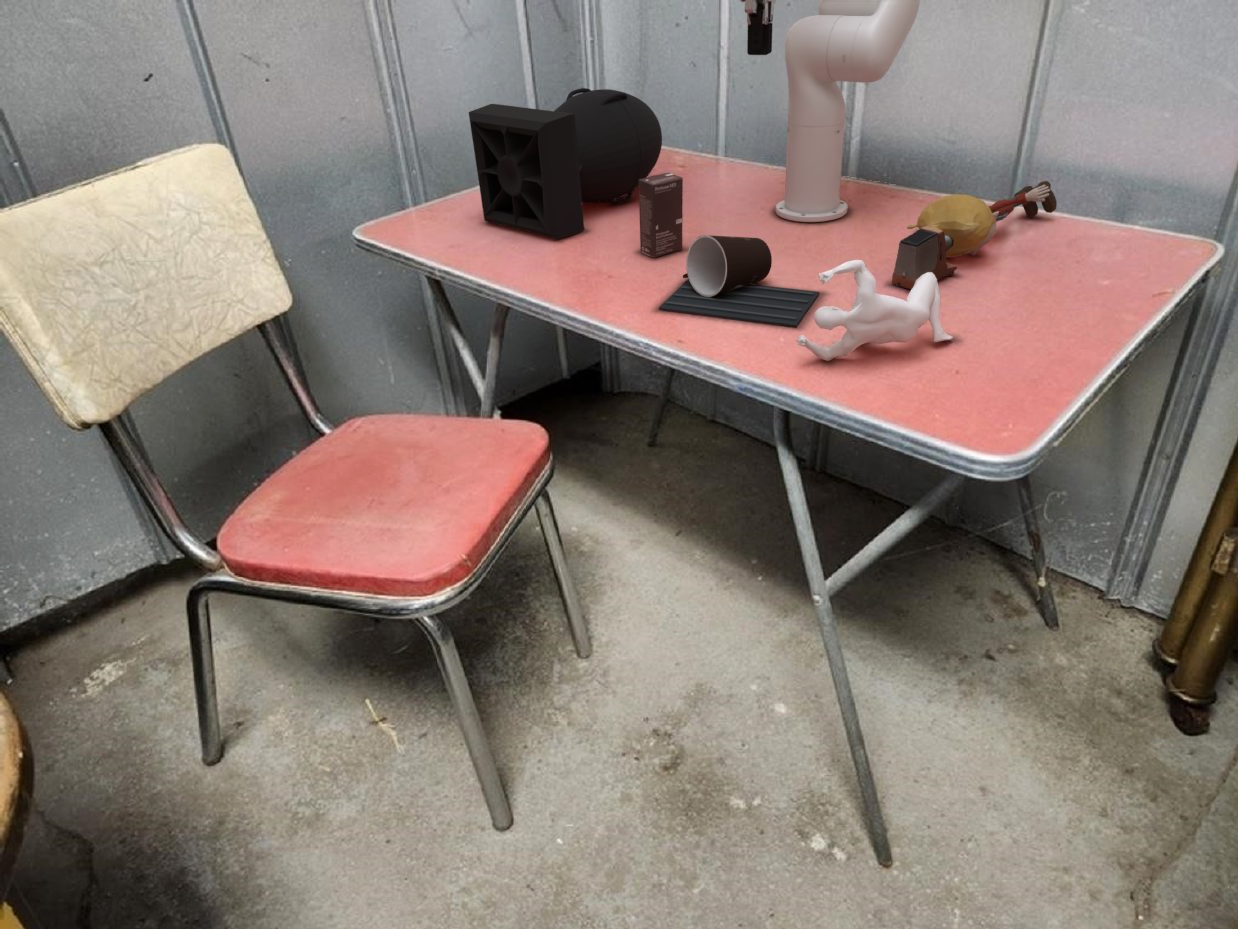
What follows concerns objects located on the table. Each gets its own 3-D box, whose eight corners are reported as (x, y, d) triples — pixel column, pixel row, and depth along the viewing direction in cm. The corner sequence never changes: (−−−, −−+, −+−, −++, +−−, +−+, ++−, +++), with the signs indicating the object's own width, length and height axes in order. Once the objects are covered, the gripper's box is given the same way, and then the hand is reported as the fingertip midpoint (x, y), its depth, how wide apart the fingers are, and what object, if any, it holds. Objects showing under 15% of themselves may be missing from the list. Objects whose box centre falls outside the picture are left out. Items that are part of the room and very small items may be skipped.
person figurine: (892, 237, 112) (823, 255, 99) (983, 278, 106) (922, 302, 93) (855, 328, 119) (786, 355, 106) (938, 371, 113) (876, 405, 100)
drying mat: (689, 279, 133) (689, 275, 133) (819, 294, 125) (819, 289, 125) (658, 309, 124) (658, 305, 124) (796, 327, 116) (796, 322, 116)
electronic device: (957, 275, 128) (964, 224, 124) (915, 293, 124) (921, 241, 119) (932, 267, 131) (938, 218, 127) (890, 285, 127) (895, 234, 123)
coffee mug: (781, 236, 125) (730, 241, 119) (773, 295, 129) (723, 303, 123) (725, 221, 133) (675, 225, 127) (719, 277, 137) (670, 284, 131)
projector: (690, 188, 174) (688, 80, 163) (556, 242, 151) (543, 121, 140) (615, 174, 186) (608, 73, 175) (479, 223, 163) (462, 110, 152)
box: (655, 259, 141) (652, 184, 135) (639, 252, 145) (636, 178, 138) (685, 250, 144) (683, 176, 138) (669, 243, 147) (667, 171, 141)
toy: (984, 236, 155) (885, 282, 139) (970, 181, 153) (868, 221, 137) (1114, 202, 137) (1017, 251, 121) (1100, 139, 135) (1000, 181, 119)
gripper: (773, -95, 111) (768, 63, 121) (805, -99, 122) (798, 45, 132) (717, -91, 113) (717, 62, 123) (753, -96, 125) (750, 45, 135)
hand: (759, 53), depth 128 cm, fingers closed
